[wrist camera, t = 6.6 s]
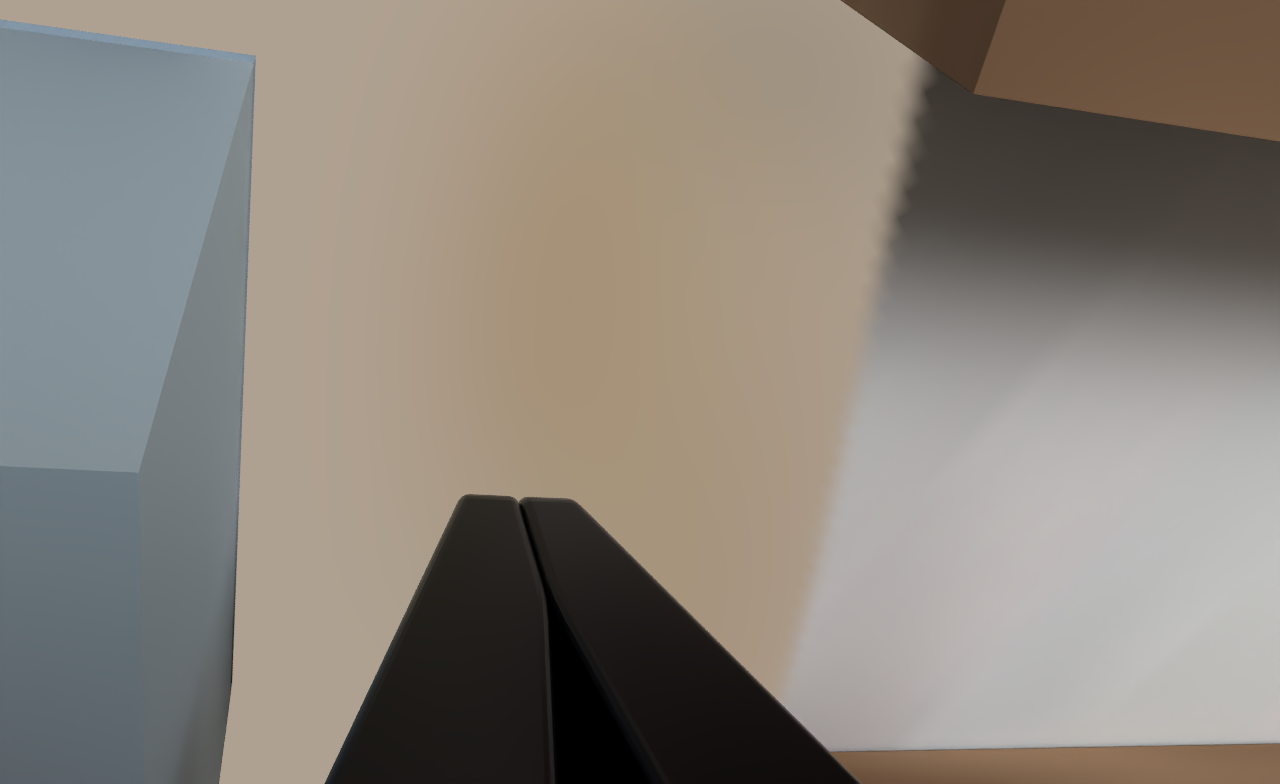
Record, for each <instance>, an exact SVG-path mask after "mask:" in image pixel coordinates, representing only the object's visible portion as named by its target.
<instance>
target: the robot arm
mask: <svg viewBox="0 0 1280 784" xmlns="http://www.w3.org/2000/svg"><path fill="white" fill-rule="evenodd" d="M325 784H862V783H861V782H860V781H858V780H857V779H856V778H855V777H854V776H853V775H852V774H851V773H850V772H849V771H848V770H847V769H846V768H845V767H844V766H843V765H842V764H841V763H840V762H839V761H838V760H837V759H836V758H835V757H834V756H833V755H832V754H831V753H830V752H829V751H828V750H827V749H826V748H825V747H824V746H823V745H822V744H821V743H820V742H819V741H818V740H817V739H816V738H815V737H814V736H813V735H812V734H811V733H810V732H809V731H808V730H807V729H806V728H805V727H804V726H803V725H802V724H801V723H800V722H799V721H798V720H797V719H796V718H795V717H794V716H793V715H792V714H791V713H790V712H789V711H788V710H787V709H786V708H785V707H784V706H783V705H782V704H781V703H780V702H779V701H778V700H777V699H776V698H775V697H774V696H773V695H772V694H771V693H770V692H769V691H768V690H767V689H765V688H764V687H763V686H762V685H761V684H760V683H759V682H758V681H757V680H756V679H755V678H754V677H753V676H752V675H751V674H750V673H749V672H748V671H747V670H746V669H745V668H744V667H743V666H742V665H741V664H740V663H739V662H738V661H737V660H736V659H735V658H734V657H733V656H732V655H731V654H730V653H729V652H728V651H727V650H726V649H725V648H724V647H723V646H722V645H721V644H720V643H719V642H718V641H717V640H716V639H715V638H714V637H713V636H712V635H711V634H710V633H709V632H708V631H707V630H706V629H705V628H704V627H703V626H702V625H701V624H700V623H699V622H698V621H697V620H696V619H694V618H693V616H692V615H691V614H690V613H689V612H688V611H687V610H686V609H684V607H683V606H682V605H680V604H679V603H678V601H677V600H676V599H675V598H674V597H672V596H671V595H670V594H669V593H668V592H667V591H666V590H665V589H664V588H663V587H662V586H661V585H660V584H659V583H658V582H657V581H656V580H655V579H654V578H653V577H652V576H651V575H650V574H649V573H648V572H647V571H646V570H645V569H644V568H643V567H642V566H641V565H640V564H639V563H638V562H637V561H636V560H635V559H634V558H633V557H632V556H631V555H630V554H629V553H628V552H627V551H626V550H625V549H624V548H623V547H622V546H621V545H620V544H619V543H618V542H617V541H616V540H615V539H614V538H613V537H612V536H611V535H610V534H609V533H608V532H607V531H606V530H605V529H604V528H603V527H602V526H601V525H600V524H599V523H598V522H597V521H596V520H595V519H594V518H593V517H592V516H591V515H590V514H588V512H587V511H586V510H585V509H583V508H582V507H581V505H579V504H578V503H577V502H575V501H573V500H571V499H565V498H541V497H525V498H523V499H521V500H520V501H519V503H518V501H517V500H516V499H515V498H513V497H510V496H496V495H473V494H469V495H465V496H463V497H462V498H461V499H460V500H459V501H458V503H457V505H456V507H455V509H454V511H453V514H452V516H451V518H450V520H449V522H448V524H447V526H446V528H445V530H444V533H443V535H442V537H441V539H440V541H439V543H438V546H437V547H436V549H435V552H434V554H433V556H432V558H431V560H430V562H429V564H428V567H427V568H426V571H425V573H424V575H423V577H422V579H421V581H420V583H419V585H418V588H417V590H416V592H415V594H414V596H413V598H412V600H411V602H410V604H409V607H408V609H407V611H406V613H405V615H404V617H403V619H402V621H401V623H400V626H399V628H398V630H397V632H396V634H395V636H394V638H393V640H392V642H391V645H390V647H389V649H388V651H387V653H386V655H385V657H384V659H383V662H382V664H381V666H380V668H379V670H378V672H377V674H376V676H375V679H374V681H373V683H372V685H371V687H370V689H369V691H368V693H367V695H366V697H365V699H364V702H363V704H362V706H361V708H360V710H359V712H358V714H357V716H356V719H355V721H354V723H353V725H352V727H351V729H350V731H349V733H348V735H347V737H346V740H345V742H344V744H343V746H342V748H341V750H340V752H339V754H338V757H337V759H336V761H335V763H334V765H333V767H332V769H331V771H330V773H329V775H328V778H327V780H326V782H325Z"/></svg>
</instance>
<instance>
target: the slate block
mask: <svg viewBox="0 0 1280 784" xmlns="http://www.w3.org/2000/svg"><path fill="white" fill-rule="evenodd" d="M255 64H256V56H255V55H248V54H241V53H234V52H227V51H219V50H213V49H205V48H198V47H191V46H184V45H177V44H171V43H164V42H156V41H149V40H141V39H135V38H128V37H121V36H114V35H107V34H100V33H93V32H86V31H79V30H72V29H65V28H58V27H51V26H44V25H36V24H29V23H22V22H15V21H8V20H1V19H0V784H219V778H220V771H221V763H222V755H223V747H224V740H225V733H226V724H227V717H228V710H229V702H230V694H231V687H232V676H233V650H234V623H235V596H236V594H235V593H236V570H237V569H236V568H237V542H238V515H239V488H240V464H241V463H240V462H241V437H242V411H243V384H244V357H245V331H246V304H247V278H248V250H249V225H250V224H249V223H250V198H251V170H252V169H251V168H252V145H253V117H254V92H255Z"/></svg>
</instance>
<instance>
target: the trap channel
mask: <svg viewBox="0 0 1280 784" xmlns="http://www.w3.org/2000/svg"><path fill="white" fill-rule="evenodd" d="M841 1H843V2H844V3H845V4H847V5H848V6H850V7H851V8H853V9H854V10H855V11H857V12H858V13H860V14H861V15H863V16H864V17H865V18H867V19H868V20H869V21H871V22H872V23H874V24H875V25H877V26H878V27H880V28H881V29H882V30H884V31H885V32H886V33H888V34H889V35H891V36H892V37H894V38H895V39H896V40H898V41H899V42H901V43H902V44H903V45H905V46H906V47H908V48H909V49H911V50H912V51H913V52H915V53H916V54H918V55H919V56H920V57H922V58H923V59H925V60H926V61H927V62H929V63H930V64H932V65H933V66H934V67H936V68H937V69H939V70H940V71H942V72H943V73H944V74H946V75H947V76H949V77H950V78H951V79H953V80H954V81H956V82H957V83H958V84H960V85H961V86H963V87H964V88H966V89H967V90H968V91H970V92H971V93H973V94H977V95H983V96H990V97H996V98H1002V99H1009V100H1015V101H1022V102H1028V103H1035V104H1041V105H1048V106H1054V107H1060V108H1067V109H1073V110H1080V111H1086V112H1093V113H1099V114H1105V115H1112V116H1118V117H1125V118H1131V119H1138V120H1144V121H1151V122H1157V123H1163V124H1170V125H1176V126H1183V127H1189V128H1196V129H1202V130H1208V131H1215V132H1221V133H1228V134H1234V135H1241V136H1247V137H1254V138H1260V139H1266V140H1273V141H1279V142H1280V0H841ZM830 753H831V754H832V755H833V756H834V757H835V758H836V759H837V760H838V761H839V762H840V763H841V764H842V765H843V766H844V767H845V768H846V769H847V770H848V771H849V772H850V773H851V774H852V775H853V776H854V777H855V778H856V779H857V780H858V781H860V782H861V783H862V784H1280V744H1247V745H1194V746H1140V747H1087V748H1033V749H979V750H926V751H872V752H830Z"/></svg>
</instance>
